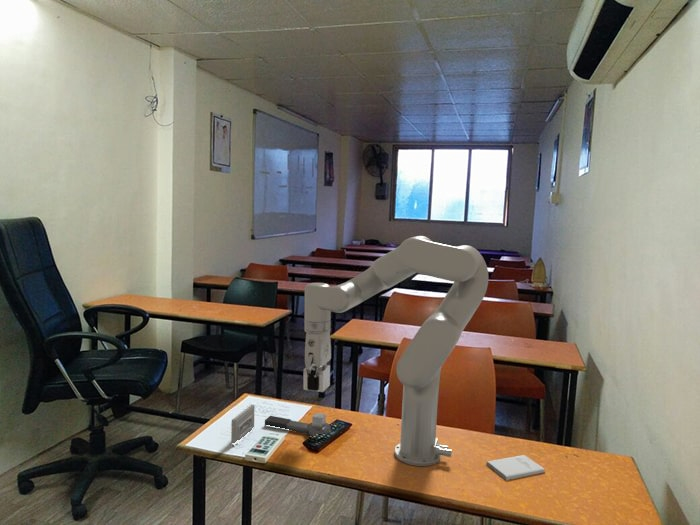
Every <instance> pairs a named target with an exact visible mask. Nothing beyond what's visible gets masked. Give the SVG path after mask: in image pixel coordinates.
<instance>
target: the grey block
mask: <svg viewBox="0 0 700 525" xmlns="http://www.w3.org/2000/svg"><path fill="white" fill-rule="evenodd" d="M312 366H316V365H315V364H312ZM312 370H314V372H315V368H312ZM302 373H303V375H302V376H303V378H302V379H303V384H302V385H303V390H304V391H312V392H315V391H314V390H308V389H307V371H306V369H305V368H303V372H302ZM317 377H318V390H317V391H316V392H319V393H324V392H325V391H326V390H327V389H328V387H330V385H331V365H328V364H327V365H324V366H323V367H321V368H319V367H318V374H317Z"/></svg>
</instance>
